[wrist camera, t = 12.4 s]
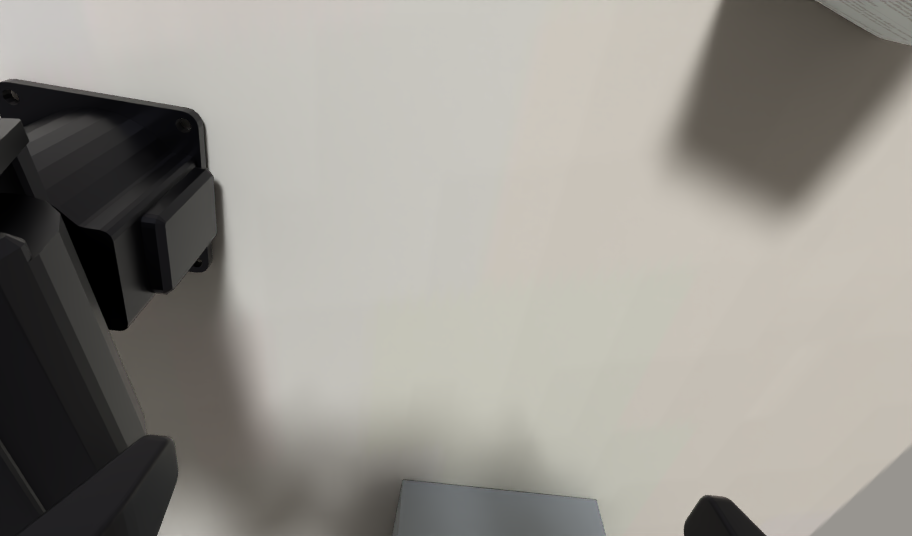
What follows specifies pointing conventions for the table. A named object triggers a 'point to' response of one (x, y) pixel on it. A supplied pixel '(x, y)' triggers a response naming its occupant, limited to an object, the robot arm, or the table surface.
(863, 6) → the product box
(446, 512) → the socket block
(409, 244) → the table surface
